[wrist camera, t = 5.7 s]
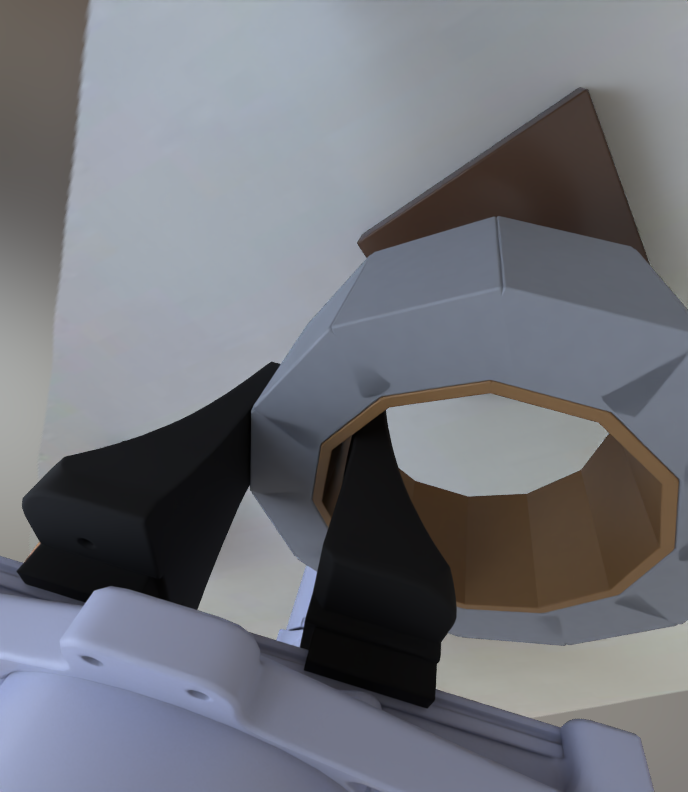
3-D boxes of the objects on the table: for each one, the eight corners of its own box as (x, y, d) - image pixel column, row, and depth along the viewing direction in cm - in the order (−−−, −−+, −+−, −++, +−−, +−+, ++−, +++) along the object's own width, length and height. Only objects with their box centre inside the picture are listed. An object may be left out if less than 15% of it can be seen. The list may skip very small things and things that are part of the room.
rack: (658, 303, 20) (731, 395, 14) (458, 384, 25) (456, 474, 19) (580, 85, 16) (640, 100, 10) (360, 234, 21) (324, 296, 15)
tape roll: (758, 493, 14) (850, 636, 10) (410, 554, 20) (395, 652, 17) (631, 89, 9) (724, 108, 5) (226, 345, 15) (154, 425, 12)
